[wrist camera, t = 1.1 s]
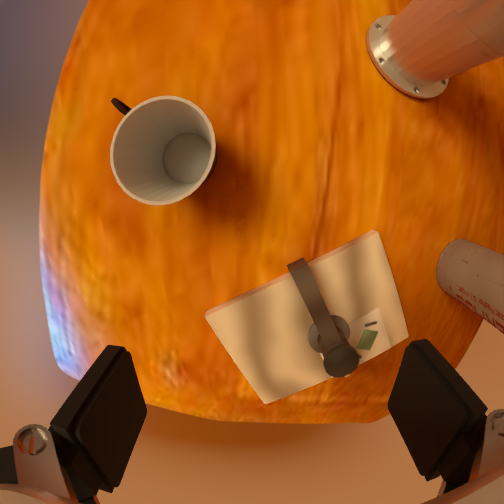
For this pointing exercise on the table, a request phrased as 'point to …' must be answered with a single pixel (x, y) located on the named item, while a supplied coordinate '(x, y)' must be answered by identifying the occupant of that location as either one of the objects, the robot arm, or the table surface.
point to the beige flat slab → (302, 325)
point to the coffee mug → (162, 149)
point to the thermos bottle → (474, 279)
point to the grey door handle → (324, 324)
